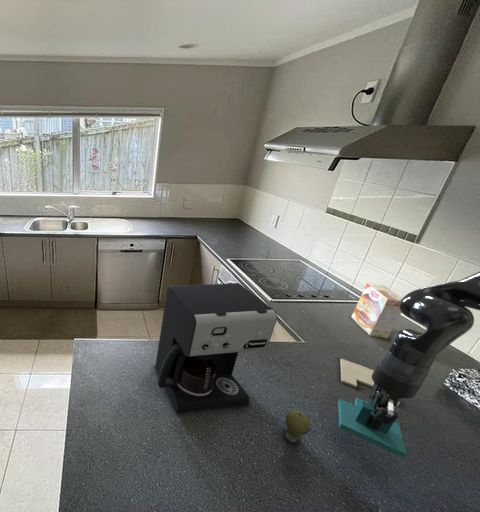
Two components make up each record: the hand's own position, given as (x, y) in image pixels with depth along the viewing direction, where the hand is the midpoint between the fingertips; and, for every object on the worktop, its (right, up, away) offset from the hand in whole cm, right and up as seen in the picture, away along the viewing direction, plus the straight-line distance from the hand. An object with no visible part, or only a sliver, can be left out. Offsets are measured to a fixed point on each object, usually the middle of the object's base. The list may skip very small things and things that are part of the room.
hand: (370, 422), depth 72 cm
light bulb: (-17, -9, +6) cm, 20 cm away
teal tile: (+1, -1, +2) cm, 3 cm away
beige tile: (+25, -2, +27) cm, 37 cm away
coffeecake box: (+55, +9, +57) cm, 80 cm away
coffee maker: (-39, -1, +22) cm, 44 cm away
